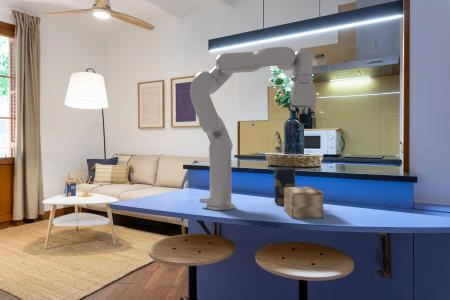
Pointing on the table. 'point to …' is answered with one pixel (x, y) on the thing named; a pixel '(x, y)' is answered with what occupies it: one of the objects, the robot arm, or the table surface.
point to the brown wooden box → (303, 205)
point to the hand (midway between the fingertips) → (302, 123)
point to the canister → (283, 182)
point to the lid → (302, 190)
